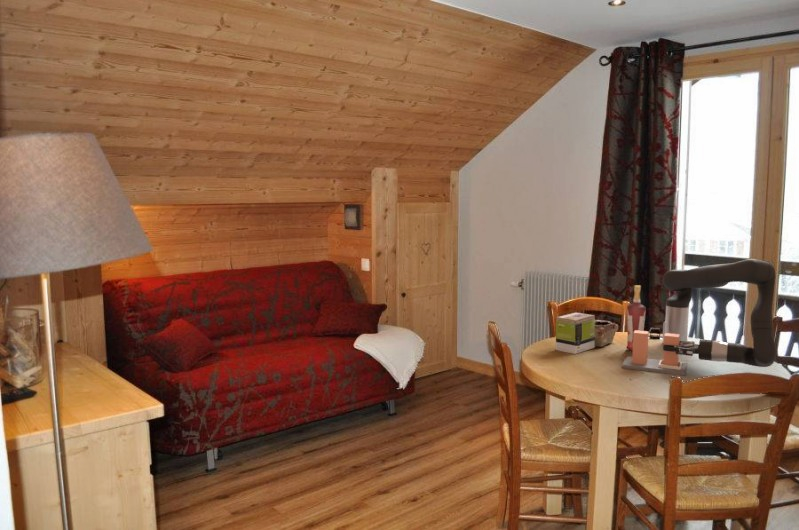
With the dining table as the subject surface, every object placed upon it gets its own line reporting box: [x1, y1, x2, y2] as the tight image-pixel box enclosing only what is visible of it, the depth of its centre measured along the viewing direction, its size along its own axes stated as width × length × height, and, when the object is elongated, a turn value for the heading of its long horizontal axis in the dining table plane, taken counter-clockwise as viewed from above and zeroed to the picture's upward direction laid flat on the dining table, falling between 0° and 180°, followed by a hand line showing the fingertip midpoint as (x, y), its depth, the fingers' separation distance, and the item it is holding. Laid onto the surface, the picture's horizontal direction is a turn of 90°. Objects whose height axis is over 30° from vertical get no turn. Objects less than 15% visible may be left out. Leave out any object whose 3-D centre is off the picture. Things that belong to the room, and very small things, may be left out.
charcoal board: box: [621, 330, 688, 377], centre depth 244 cm, size 22×14×13 cm, turn 63°
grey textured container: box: [594, 319, 619, 348], centre depth 283 cm, size 13×20×10 cm, turn 133°
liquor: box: [625, 284, 647, 353], centre depth 267 cm, size 7×7×28 cm
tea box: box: [555, 312, 596, 355], centre depth 271 cm, size 15×10×15 cm, turn 131°
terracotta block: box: [662, 333, 680, 366], centre depth 241 cm, size 5×5×12 cm
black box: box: [648, 327, 663, 341], centre depth 293 cm, size 13×8×5 cm, turn 72°
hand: (664, 345), depth 242 cm, fingers open, 5 cm apart
